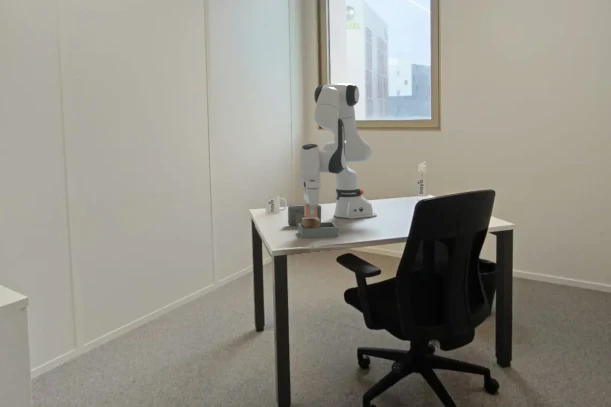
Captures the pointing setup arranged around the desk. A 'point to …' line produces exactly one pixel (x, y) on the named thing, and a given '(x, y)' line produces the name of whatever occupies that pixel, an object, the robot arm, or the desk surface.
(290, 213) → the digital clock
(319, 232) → the tote
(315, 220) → the block
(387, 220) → the desk surface
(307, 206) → the light cube
